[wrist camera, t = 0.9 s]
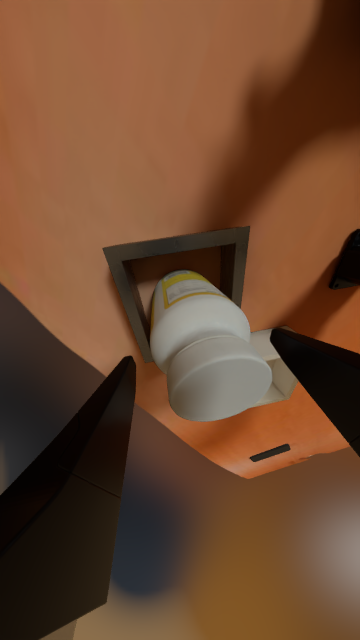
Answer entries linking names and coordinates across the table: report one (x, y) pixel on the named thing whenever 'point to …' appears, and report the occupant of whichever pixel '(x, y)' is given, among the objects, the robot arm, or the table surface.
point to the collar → (119, 255)
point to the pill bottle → (204, 349)
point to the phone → (270, 452)
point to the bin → (273, 368)
